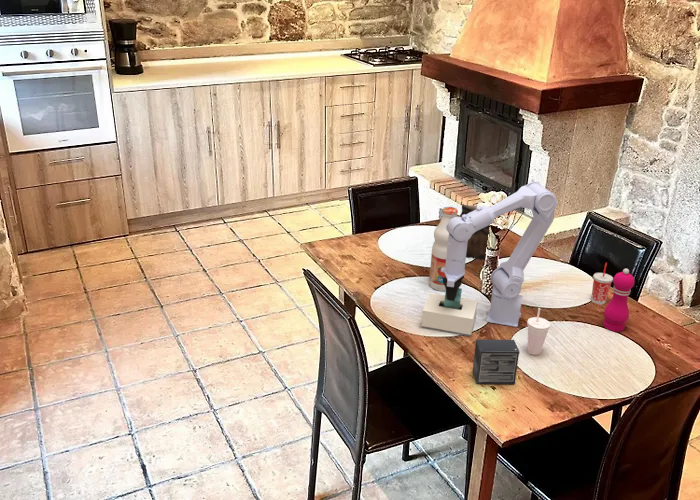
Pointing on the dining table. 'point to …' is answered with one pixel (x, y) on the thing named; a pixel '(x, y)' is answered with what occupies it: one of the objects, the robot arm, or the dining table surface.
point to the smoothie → (537, 333)
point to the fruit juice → (440, 249)
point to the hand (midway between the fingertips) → (451, 297)
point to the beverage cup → (601, 287)
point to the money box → (449, 315)
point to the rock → (476, 238)
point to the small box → (495, 361)
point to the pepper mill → (619, 302)
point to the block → (455, 303)
